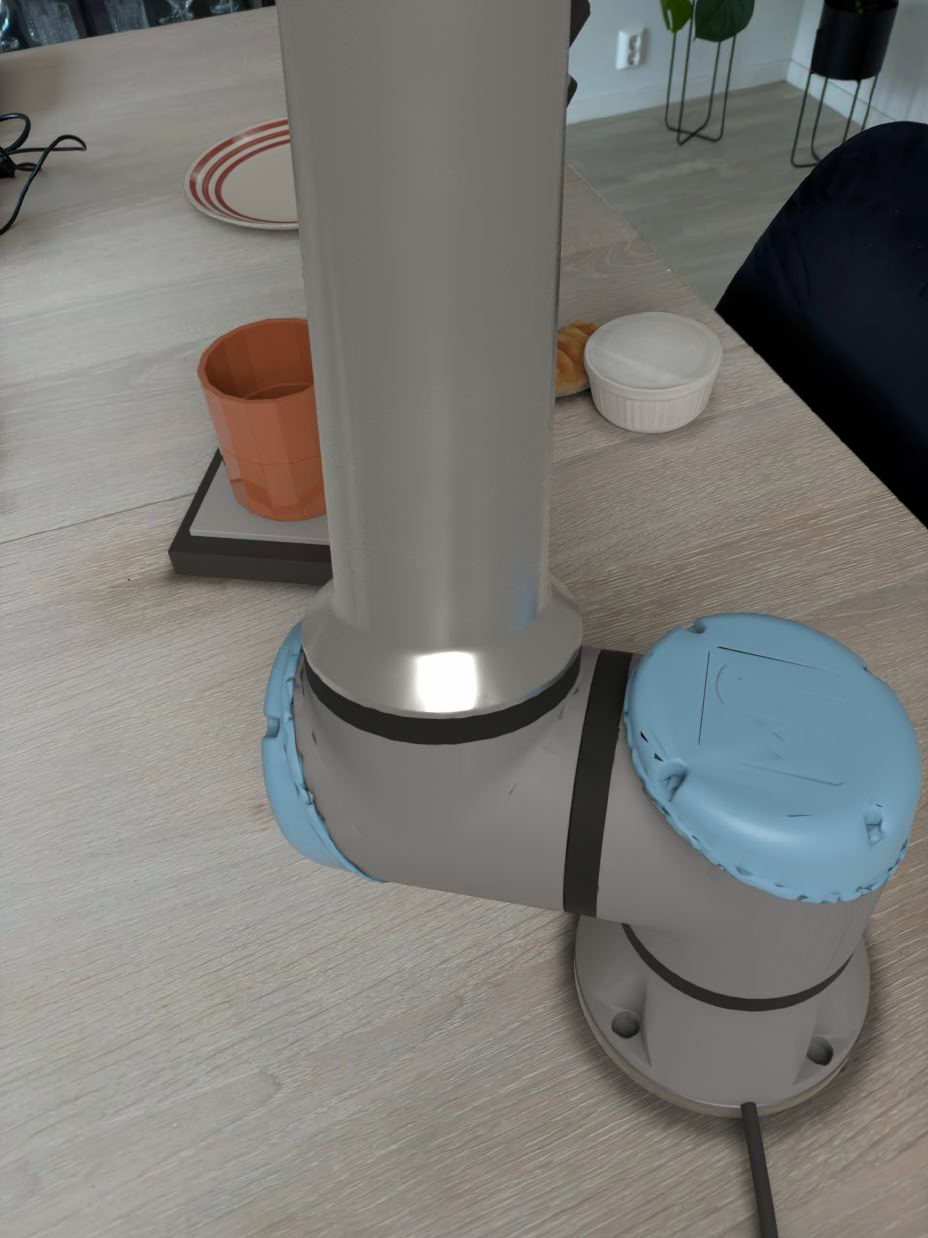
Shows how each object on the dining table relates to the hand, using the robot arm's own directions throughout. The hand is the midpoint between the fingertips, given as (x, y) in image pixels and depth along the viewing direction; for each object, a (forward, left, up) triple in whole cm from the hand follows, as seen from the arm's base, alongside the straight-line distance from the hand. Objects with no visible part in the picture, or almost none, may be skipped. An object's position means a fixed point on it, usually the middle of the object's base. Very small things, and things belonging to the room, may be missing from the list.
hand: (374, 264), depth 76 cm
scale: (-6, +6, -18) cm, 20 cm away
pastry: (+13, -12, -17) cm, 24 cm away
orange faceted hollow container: (-6, +6, -15) cm, 17 cm away
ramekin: (+10, -20, -18) cm, 28 cm away
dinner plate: (+46, +19, -18) cm, 53 cm away
